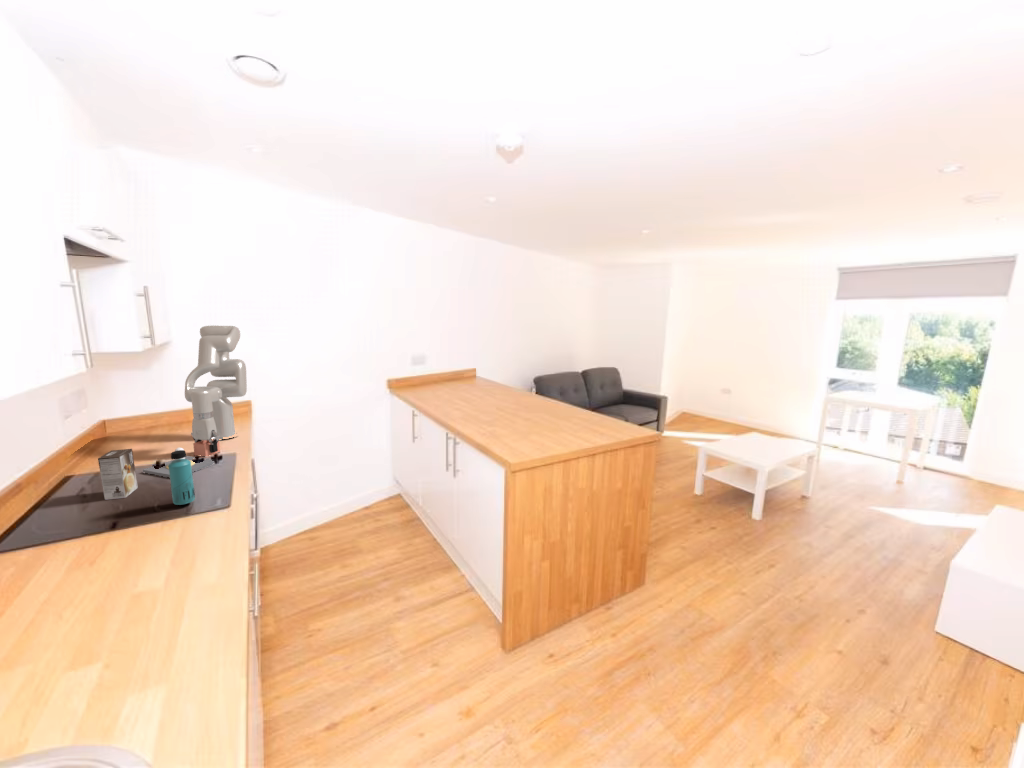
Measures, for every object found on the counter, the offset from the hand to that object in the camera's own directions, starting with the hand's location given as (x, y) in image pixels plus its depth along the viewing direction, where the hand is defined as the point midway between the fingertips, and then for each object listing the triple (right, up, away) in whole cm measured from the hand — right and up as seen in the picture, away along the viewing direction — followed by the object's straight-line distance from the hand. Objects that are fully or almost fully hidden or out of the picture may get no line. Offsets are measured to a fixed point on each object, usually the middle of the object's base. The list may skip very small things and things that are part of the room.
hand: (207, 450), depth 194 cm
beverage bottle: (+29, -11, -50) cm, 59 cm away
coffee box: (0, -9, -43) cm, 44 cm away
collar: (0, -2, 0) cm, 2 cm away
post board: (+2, -5, -18) cm, 18 cm away
